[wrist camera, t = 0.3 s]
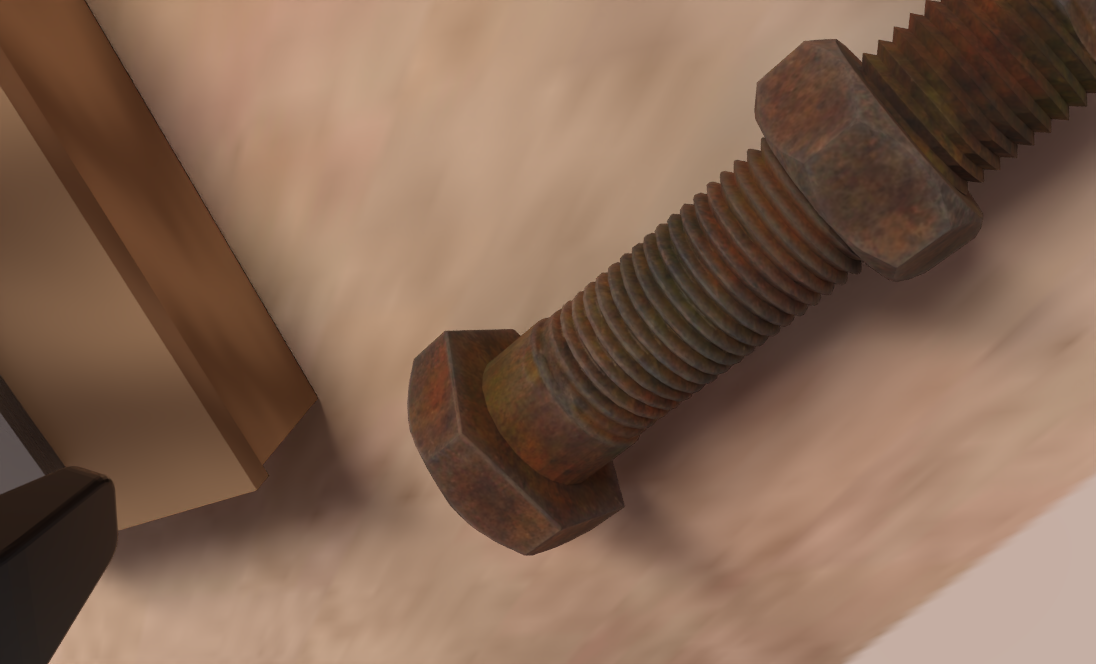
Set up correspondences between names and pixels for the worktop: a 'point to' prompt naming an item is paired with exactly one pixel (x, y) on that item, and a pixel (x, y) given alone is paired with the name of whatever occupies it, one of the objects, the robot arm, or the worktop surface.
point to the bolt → (747, 256)
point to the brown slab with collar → (121, 290)
